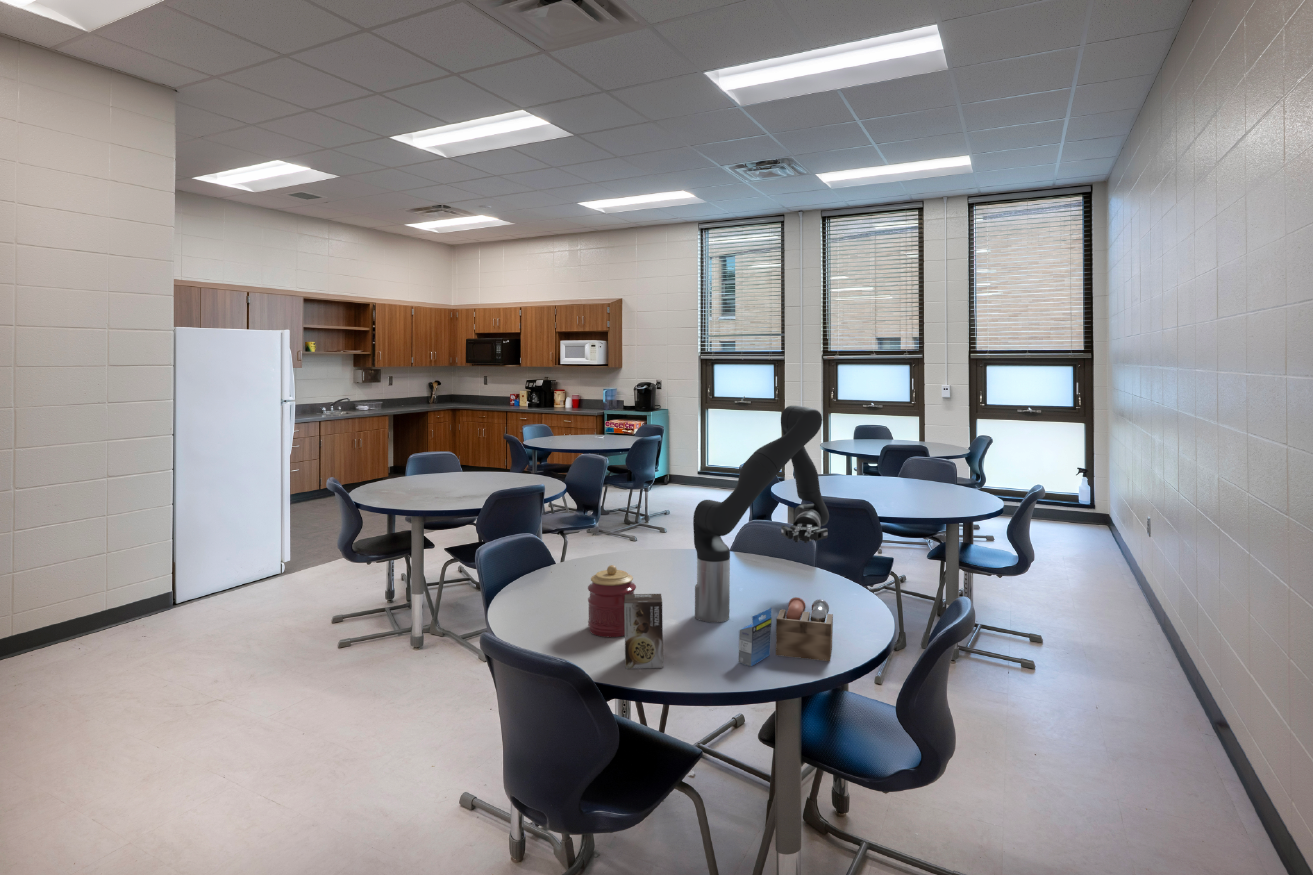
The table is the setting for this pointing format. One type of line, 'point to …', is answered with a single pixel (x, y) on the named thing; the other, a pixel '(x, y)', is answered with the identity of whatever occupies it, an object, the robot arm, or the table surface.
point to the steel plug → (819, 611)
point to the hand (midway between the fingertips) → (801, 538)
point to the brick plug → (795, 608)
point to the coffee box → (643, 631)
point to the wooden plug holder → (804, 637)
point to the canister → (609, 602)
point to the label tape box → (755, 639)
